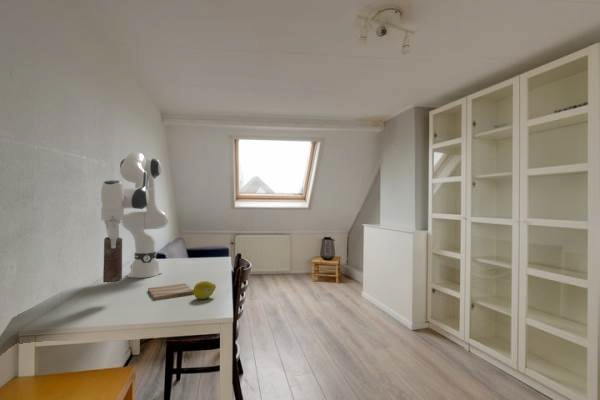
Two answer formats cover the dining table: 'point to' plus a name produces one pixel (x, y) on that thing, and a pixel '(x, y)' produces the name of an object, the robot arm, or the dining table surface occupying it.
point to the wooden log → (112, 261)
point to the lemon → (203, 289)
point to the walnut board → (170, 291)
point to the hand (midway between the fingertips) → (112, 246)
